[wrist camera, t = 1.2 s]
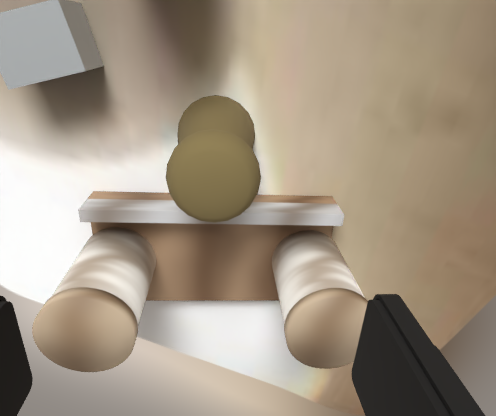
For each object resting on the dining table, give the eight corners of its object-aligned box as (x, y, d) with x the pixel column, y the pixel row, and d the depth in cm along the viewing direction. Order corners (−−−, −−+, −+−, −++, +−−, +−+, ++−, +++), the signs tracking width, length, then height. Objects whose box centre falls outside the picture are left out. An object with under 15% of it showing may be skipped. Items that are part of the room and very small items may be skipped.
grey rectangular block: (81, 3, 25) (57, -2, 21) (104, 65, 26) (85, 71, 23) (10, 21, 25) (-26, 18, 21) (37, 81, 27) (8, 89, 23)
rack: (344, 196, 32) (396, 266, 22) (328, 290, 36) (365, 381, 27) (79, 191, 30) (13, 263, 21) (95, 290, 34) (46, 387, 25)
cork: (270, 126, 29) (295, 176, 19) (225, 185, 31) (226, 257, 21) (206, 78, 27) (196, 104, 17) (162, 143, 29) (131, 201, 19)
